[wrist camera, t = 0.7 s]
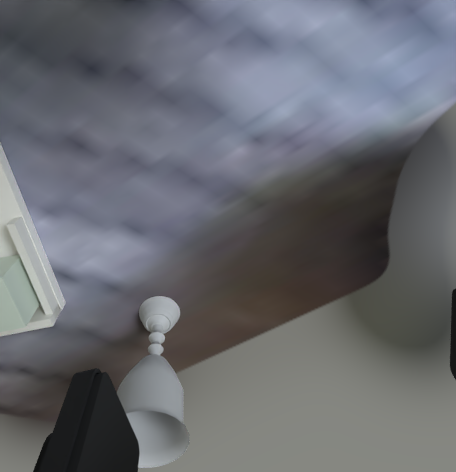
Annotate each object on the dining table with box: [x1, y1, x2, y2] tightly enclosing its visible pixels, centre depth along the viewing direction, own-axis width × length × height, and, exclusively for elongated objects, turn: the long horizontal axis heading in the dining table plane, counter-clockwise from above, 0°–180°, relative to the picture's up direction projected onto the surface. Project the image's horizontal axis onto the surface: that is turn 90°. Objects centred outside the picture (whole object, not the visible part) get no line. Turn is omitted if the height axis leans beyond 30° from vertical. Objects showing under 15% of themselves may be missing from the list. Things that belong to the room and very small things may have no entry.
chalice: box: [117, 296, 189, 468], centre depth 41 cm, size 7×7×18 cm
